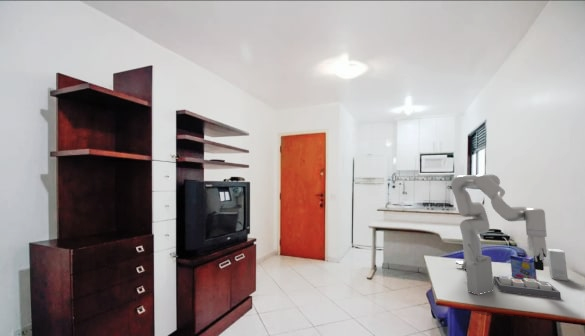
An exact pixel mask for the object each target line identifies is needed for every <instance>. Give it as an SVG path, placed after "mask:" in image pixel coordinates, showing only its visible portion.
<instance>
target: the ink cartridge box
mask: <svg viewBox="0 0 585 336" xmlns="http://www.w3.org/2000/svg"><path fill="white" fill-rule="evenodd" d="M516 253H517V254H516ZM516 253H514V254H511V255H510V256H509V258H510V269H511V277H512V278H513V277H514V278H516V279H523V278H528V279H534V280H535V281H538V280H537V279H538V278H537V271H536V269H535V268H534V259H533V256H528V255H526V254H525V252H524V253H523V252H518V251H517V252H516Z"/></svg>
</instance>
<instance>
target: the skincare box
mask: <svg viewBox="0 0 585 336" xmlns="http://www.w3.org/2000/svg"><path fill="white" fill-rule="evenodd" d="M546 249H547V259H548V260H547V261H548V268H549V275H550V277H551V278H552V279H553V280H559V281H566V282H568V281H569V277H568V269H567V262H566V252H565V251H564V250H562V249H558V248H546Z"/></svg>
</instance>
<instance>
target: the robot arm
mask: <svg viewBox="0 0 585 336" xmlns="http://www.w3.org/2000/svg"><path fill="white" fill-rule="evenodd" d="M500 184H501V181H500V178H499V176H497V175H495V174H491V173H490V174H489V173H488V174H487V173H486V174H485V173H484V174H465V175H462V174H460V175H458V176H456V177H454V178H453V179H452V181H451V185H450V187H451V190H452V193H453V195H454V199H455V203H456V206H457V210H458V213H459V215H460V216H461V217H464V218H467V219H463V220H462V221H461V222H460V224H459V229H460V233H461V236H462V247H463V248H462V249H463V260H461V261H459V260H455V264H456V265H459V266H461V269H463V268H464V269H466V265H467V263H468V262H469V261H471V260H472V257H473V253H472V251H471V249H470V248H469V246H468V244H470V245H471V247H472V248H473V249H474V252H475V256H477V255H483V254H482V244H481V238H480V237H479V234H486V233H488V232H489V230H490V222H489V219H488V215H487V213H486V212H487V211H486V208H485V207H484V206H483V204H482V203H480V202H477V201H473V200H472V199H471V195H470V193H469V191H467V189H474V188H475V189H476V188H477V189H479V190H480V192H482V193H483V194H484V195H485V196H486V197H487V198H489V199H490V204H491V206H492V209H493V210H494V211H495V213H497V214H498V215H499V216H500V217H501V218H502V219H504V220H506V221H507V222H512V223H513V222H523V221H524V222H525V230H526V231H525V232H526V236H527V240H526V241H527V243H526V244H527V253H528V254H530V255H532V257H533V259H534V268H535V269H536V270H537V271H544V269H545V268H544V267H545V266H544V261H545V258H548V253H547V249H548V248H547V242H546V238H547V236H548V235H547V225H546V224H547V222H546V212H545V209H542V208H537V207H534V208H533V207H531V208H530V207H527V206H510V205H509V204H508V203H506V202H505V201H504V199H503V197H504V195H505V194H506V191H505V190H504V188H502V187H501V186H500ZM471 217H472V218H471ZM464 269H463V270H464Z"/></svg>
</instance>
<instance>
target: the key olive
mask: <svg viewBox="0 0 585 336" xmlns="http://www.w3.org/2000/svg"><path fill="white" fill-rule="evenodd" d="M523 279H524V284H525V285H526V286H527V287H529V288H538V282H537V281H538V280H534V279H528V278H523Z"/></svg>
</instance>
